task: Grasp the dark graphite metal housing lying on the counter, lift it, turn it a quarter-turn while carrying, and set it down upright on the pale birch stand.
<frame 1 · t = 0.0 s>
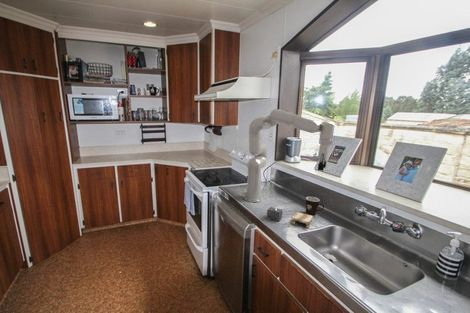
hand: (321, 168, 150), 31 cm above the worktop, fingers open, 9 cm apart
coffee mug: (312, 214, 157), on the worktop
stand: (301, 222, 144), on the worktop
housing: (274, 218, 148), on the worktop
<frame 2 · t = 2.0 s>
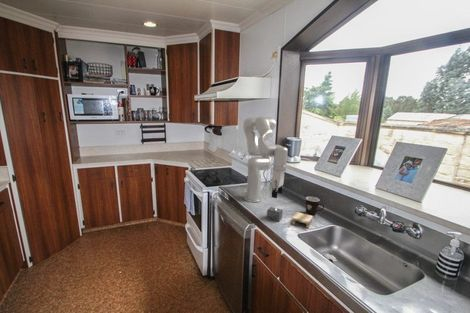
hand: (276, 195, 144), 15 cm above the worktop, fingers open, 9 cm apart
nothing on the worktop moved.
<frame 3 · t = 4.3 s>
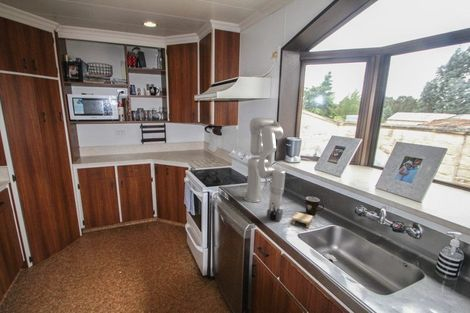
hand: (274, 217, 147), 1 cm above the worktop, fingers closed on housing, 5 cm apart
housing: (274, 218, 148), on the worktop, touching gripper
everything else where it was.
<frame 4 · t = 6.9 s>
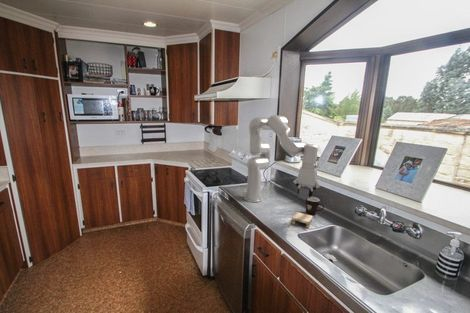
hand: (304, 195, 141), 17 cm above the worktop, fingers closed on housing, 5 cm apart
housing: (304, 196, 141), point 17 cm above the worktop, touching gripper
everything else where it was.
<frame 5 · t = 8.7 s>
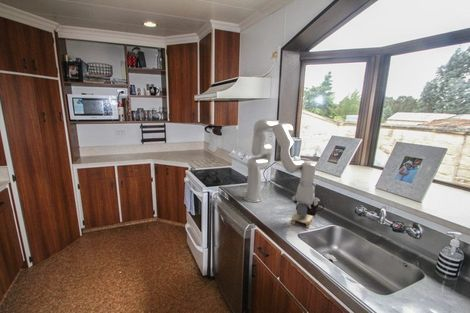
hand: (303, 212, 143), 7 cm above the worktop, fingers closed on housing, 5 cm apart
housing: (302, 213, 143), point 6 cm above the worktop, touching gripper
everything else where it was.
when the fingers open (5 cm above the worktop, at t = 9.9 s): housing stays where it is, resting on stand.
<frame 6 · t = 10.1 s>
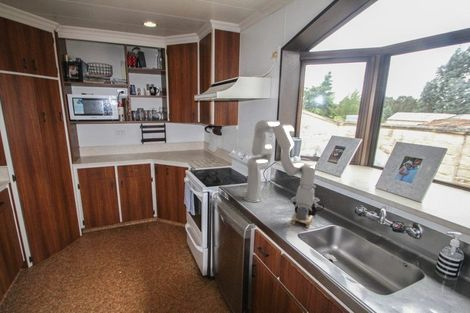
hand: (302, 214, 143), 6 cm above the worktop, fingers open, 7 cm apart
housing: (302, 216, 143), point 4 cm above the worktop, touching stand
everything else where it was.
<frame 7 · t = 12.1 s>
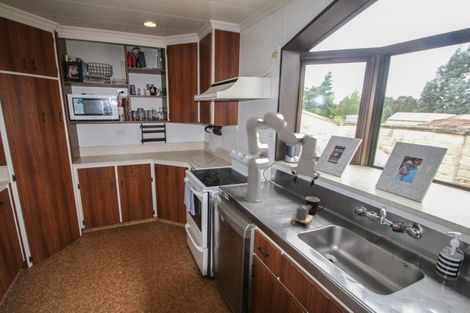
hand: (303, 184, 142), 23 cm above the worktop, fingers open, 9 cm apart
nothing on the worktop moved.
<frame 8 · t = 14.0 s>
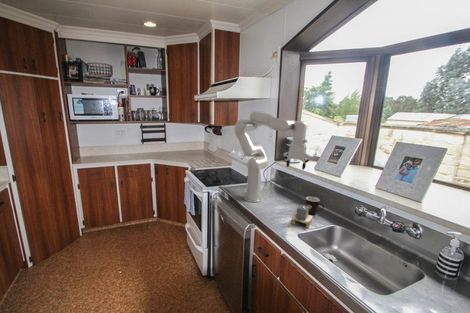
hand: (295, 167, 152), 30 cm above the worktop, fingers open, 9 cm apart
nothing on the worktop moved.
at the end: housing inside the target area on the stand (0.2 cm from its centre), point 4.0 cm above the stand's base; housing tilted 0°; the gripper is holding nothing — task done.
